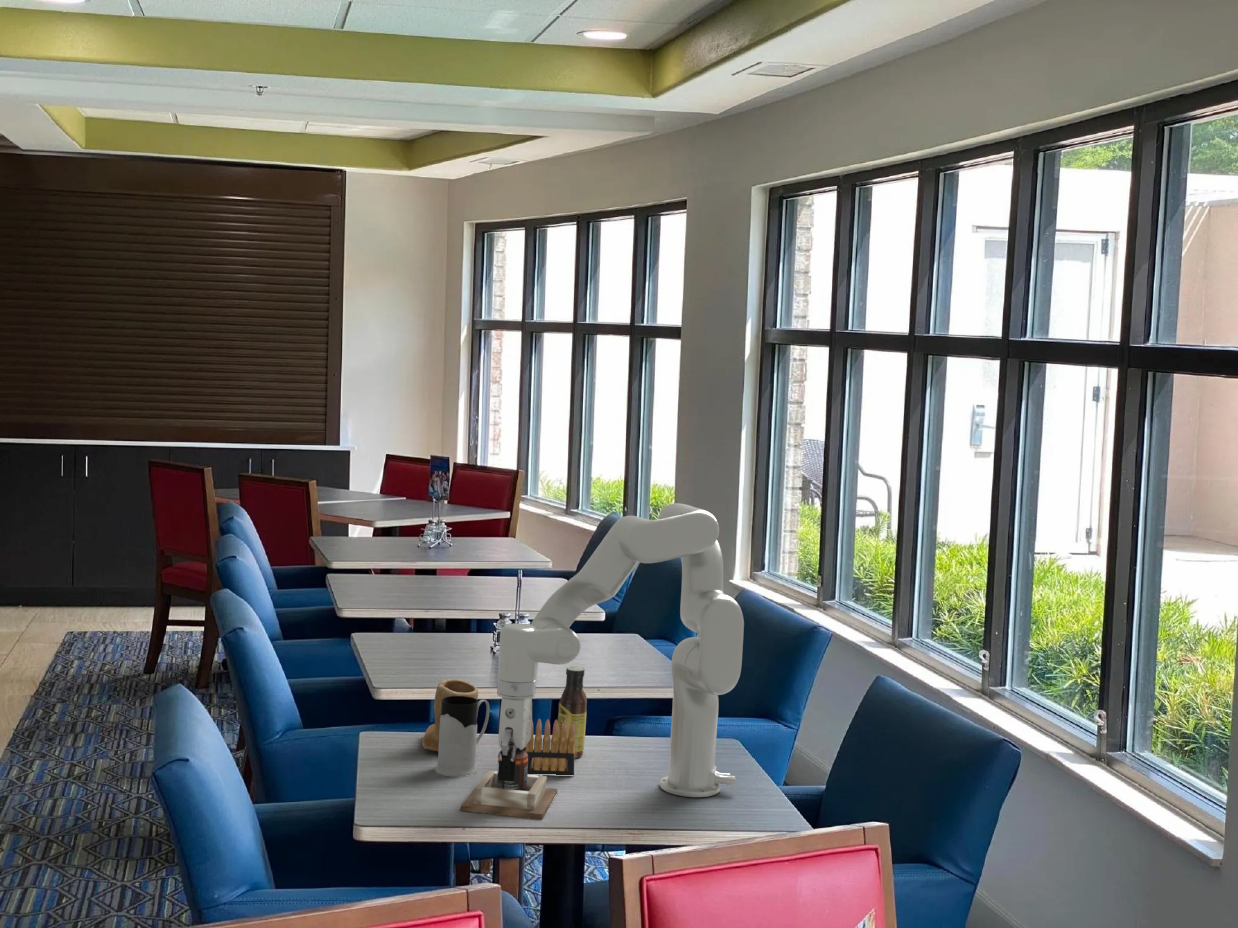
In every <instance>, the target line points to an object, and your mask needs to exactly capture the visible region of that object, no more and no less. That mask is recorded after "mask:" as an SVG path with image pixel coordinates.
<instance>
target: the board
mask: <svg viewBox="0 0 1238 928" xmlns="http://www.w3.org/2000/svg"><path fill="white" fill-rule="evenodd" d="M497 771H498V770H487V772H485V774H484V775H483V777H482V778H481V779H480V781H478V783H477V784H476V785H475V787H474V788H473V789H472V790H471V792H470V793H469V795H468V796H467V797H466V798H465V799H464V801H463V802H462V803H461V805H460V812H467V811H472V812H471V813H476V812H482V813H481V814H486V813H490V815H496V814H498V816H505V815H511V816H510V817H515V816H516V817H517V818H524V817H526V819H534V818H536V819H537V820H543V819H544V818H545V816H546V815H547V813H548V811H547V810H549V809H550V807H551V805H552V804H553V802H554V800H555V798H556V797H555V795H556V794H557V795H558V788H554V787H553V788H552V787H547V780H548V776H540V775H530V774H527V791H520V790H510V789H501V788H497ZM557 795H556V796H557ZM554 797H555V798H554ZM553 799H554V800H553ZM552 801H553V802H552ZM551 803H552V804H551ZM550 804H551V805H550ZM549 806H550V807H549ZM548 808H549V809H548ZM528 817H529V818H528Z"/></svg>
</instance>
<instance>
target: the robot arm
mask: <svg viewBox="0 0 1238 928" xmlns="http://www.w3.org/2000/svg"><path fill="white" fill-rule="evenodd" d="M717 520H718V519H716V517H715V516H714V515H713V513H711V512H709V511H707V510H705V509H702V508H699V507H695V506H692V505H689V504H685V503H681V502H680V503H677V502H676V503H670V504H667V505H665V506H663V508H662V509H661V511H660V512H659V515H658V519H647V518H644V517H641V516H636V515H626V516H625V515H624V516H622V517H620V518H619V519H618V520H616V522H615V523H613V525H612V526H611V527H610V529H609V530H608V532H607V534H605V536H604V537H603V539H601V540H602V541H601V542H600V543H599V544H598V546H597V547H596V549H595V550H594V552H593V553H592V554H591V556H590V557H589V558H588V559H587V561H586V563H585V564H583V567H582V568H581V569H580V571H578V572H577V573H576V574H575V575H573V577H571V578H569V580H568V581H566V582H565V583H564V584H562V585H561V586H560V587H559V588H558V589H557V590H556V591H555V592H553V593H552V595H551V596H550V597H549V598H548V599H547V600H546V601H545V603H544V604H543V606H541V608H540V609H539V611H538V613H537V614H536V616H535V617H534V618H533V620H532V621H531V624H527V623H508V624H505V625H504V626H503V627H501V630H500V635H499V649H498V650H499V651H498V652H499V653H498V670H497V671H498V672H497V686H496V687H497V688H496V695H497V697H500V698H501V703H500V711H499V712H500V713H499V725H498V726H499V727H498V746H499V747H500V748H501V749H500V751H499V752H500V758H499V772H498V779H499V780H501V781H511V782H513V781H514V780H515V769H516V761H514V759H515V754H516V748H519V749H520V750H522V749H524V751H526V745H527V744H528V742H529V741H530V739H531V736H532V722H533V700H532V699H533V698H535V697H536V689H537V688H536V687H537V686H536V685H537V672H538V671H537V670H538V663H544V664H549V665H550V664H551V665H566V664H569V663H571V662H572V661H574V660H576V658H577V657H578V656H579V654H580V651H581V640H580V638H579V636H578V634H576V632H575V631H574V630H572V629H571V628H570V627H571V626H572V624H574V622H575V620H576V619H577V618H578V617H579V616H580V615H581V614H582V613H584V612H585V611H586V610H587V609H589V608H591V607H592V606H596V605H599V604H601V603H604V602H606V601H609V600H611V599H612V598H614V597H615V596H616V595H617V593H618V592H619V591H620V589H621V588H622V586H623V585H624V583H625V582H626V580H628V578H629V577H630V575H631V573H632V572H633V570H634V569H635V568H636V566H637V565H638V564H639V563H641V564H654V563H656V564H657V563H662V562H666V561H671V560H675V559H679V558H680V561H681V590H680V591H681V592H680V610H679V613H680V615H679V616H680V620H681V622H682V624H683V625H684V626H685V628H687V629H689V630H690V631H691V632H693V633H696V634H698V635H699V636H693V637H692V636H691V637H687V638H684V639H683V640H681V641H680V642H679V643H678V644H677V645H676V647H675V648H674V650H673V653H672V656H671V662H670V663H671V667H670V668H671V677H672V678H671V679H672V710H671V712H672V713H671V722H670V723H671V724H670V740H669V754H668V755H669V758H668V771H667V775H665V776H664V777H661V779H660V781H659V787H660V788H661V789H662V790H663V791H665V792H666V793H668V794H672V795H675V796H680V797H686V798H687V797H688V798H706V797H707V798H708V797H711V796H716V795H718V794H719V793H720V791H721V785H726V786H735V784H736V776H735V775H731V773H728V772H727V773H726V772H724V773H723V772H720V771H717V764H716V765H715V763H716V762H715V761H716V747H717V746H716V745H717V736H718V735H717V731H718V719H719V718H718V717H719V696H721V695H725V694H727V693H730V692H731V691H732V690H733V689H734V688H735V687H736V685H737V684H738V682H739V679H740V676H741V672H742V666H743V665H742V662H743V652H744V651H743V649H744V648H743V647H744V646H743V645H744V630H745V629H744V627H745V621H744V614H743V612H742V609H741V606H740V604H739V603H738V601H736V600H735V599H734V598H733V597H731V596H730V595H728V594H726V593H724V559H723V554H722V553H723V552H722V549H721V546H720V543H719V541H718V539H719V535H720V526H719V521H717ZM509 744H514V745H509ZM510 750H512V754H511V751H510Z"/></svg>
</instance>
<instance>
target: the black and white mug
mask: <svg viewBox="0 0 1238 928" xmlns="http://www.w3.org/2000/svg"><path fill="white" fill-rule="evenodd" d="M483 702H484V703H485V706H486V711H485V717H484V723H483V726H482V728H481V731H480V733H479V735H478V723H477V721H478V712H479V707H480V706H481V704H482V703H483ZM490 710H491V709H490V703H489V701H487V700H486V699H480V700H479V701H478V699H475V698H472V697H466V696H450V697H445V698H443V699H442V708H441V716H440V730H439V749H438V751H437V753H438V754H437V764H436V767H435V772H436V773H437V774H439V775H440V776H441V775H442V776H446V777H453V778H454V777H457V778H459V777H461V776H463V777H467V776H466V775H470V776H472V775H471V774H473V775H475V774H476V773H477V772H478V769H477V766H476V758H477V757H476V756H477V745H478V744H479V742H480V741H481V739H482V737H483V735H484V734H485V731H486V729H487V725H488V722H489V717H490ZM477 735H478V736H477ZM475 772H476V773H475ZM474 773H475V774H474ZM461 778H462V777H461Z"/></svg>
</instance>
